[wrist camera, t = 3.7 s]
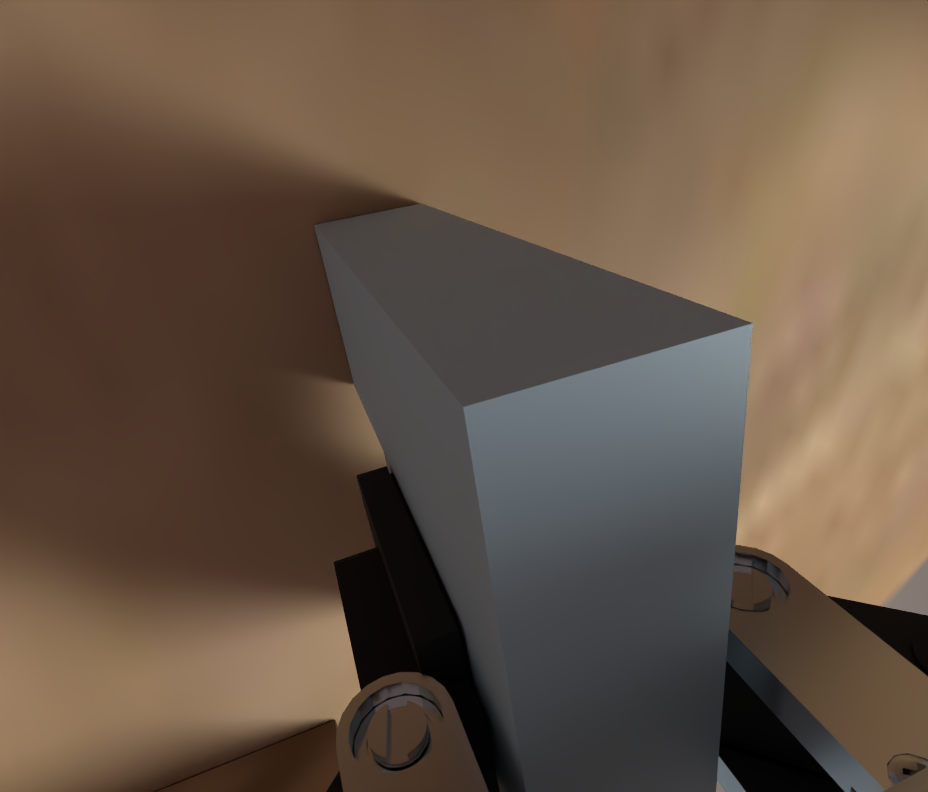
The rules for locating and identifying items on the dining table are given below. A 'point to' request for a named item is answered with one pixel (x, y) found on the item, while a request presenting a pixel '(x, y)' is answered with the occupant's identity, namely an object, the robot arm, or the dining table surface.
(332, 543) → the dining table surface
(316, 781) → the walnut board
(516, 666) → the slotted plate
